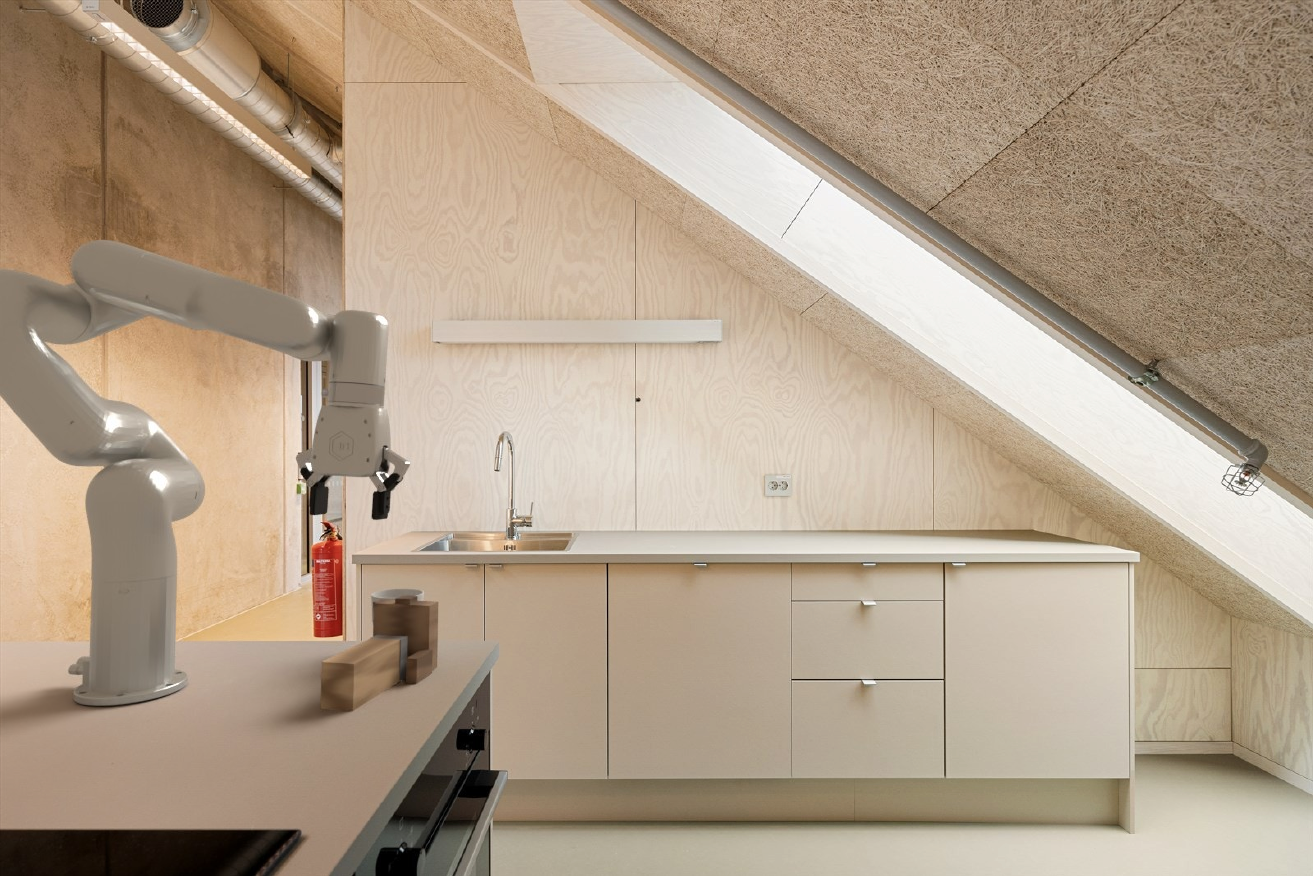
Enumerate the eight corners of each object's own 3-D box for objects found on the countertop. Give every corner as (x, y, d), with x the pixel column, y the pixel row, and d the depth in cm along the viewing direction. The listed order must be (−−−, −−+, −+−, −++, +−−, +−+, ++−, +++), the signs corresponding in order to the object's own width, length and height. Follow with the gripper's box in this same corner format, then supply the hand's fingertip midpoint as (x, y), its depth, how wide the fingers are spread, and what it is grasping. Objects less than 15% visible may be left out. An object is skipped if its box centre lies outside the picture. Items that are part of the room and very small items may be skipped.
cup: (359, 660, 115) (361, 596, 115) (386, 646, 123) (388, 587, 123) (407, 663, 113) (408, 599, 113) (431, 649, 121) (432, 589, 121)
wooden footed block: (350, 679, 105) (351, 604, 105) (378, 663, 113) (380, 593, 113) (416, 683, 104) (418, 607, 104) (440, 667, 112) (442, 596, 112)
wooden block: (319, 708, 93) (320, 661, 93) (376, 675, 107) (377, 634, 107) (354, 711, 93) (355, 664, 93) (406, 677, 107) (407, 636, 107)
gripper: (285, 393, 102) (277, 514, 102) (397, 398, 99) (390, 523, 99) (318, 397, 110) (311, 511, 109) (424, 402, 107) (417, 519, 106)
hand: (348, 516), depth 104 cm, fingers open, 9 cm apart
